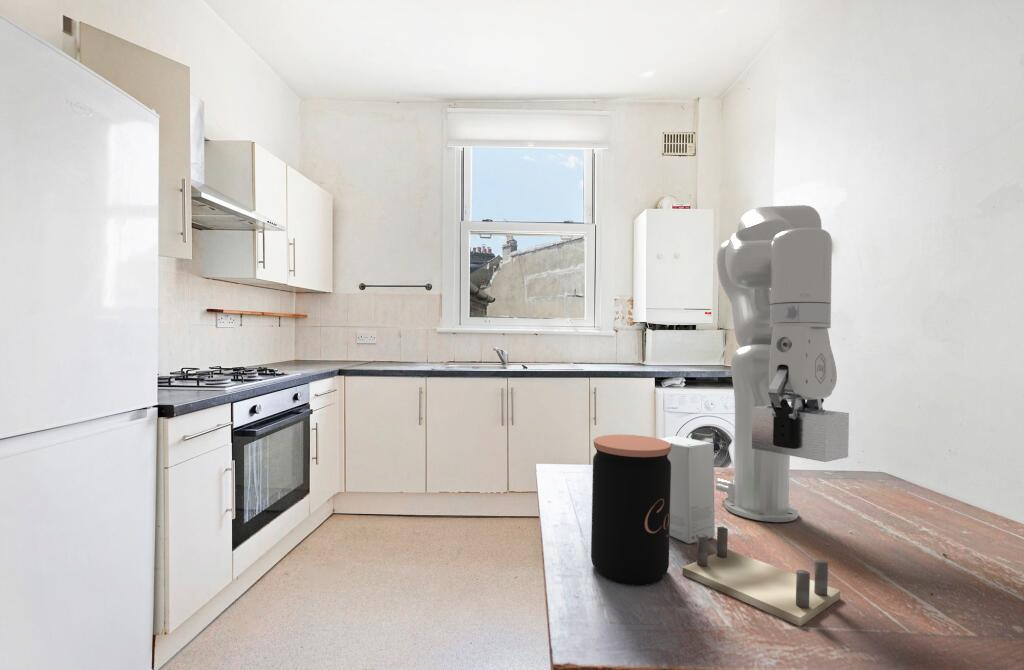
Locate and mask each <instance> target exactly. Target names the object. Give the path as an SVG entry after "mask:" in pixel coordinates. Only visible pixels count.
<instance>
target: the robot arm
mask: <svg viewBox="0 0 1024 670" xmlns="http://www.w3.org/2000/svg"><path fill="white" fill-rule="evenodd" d="M737 225H738V226H737V231H735V232H734V233H732V235H731V236H730V238H729V240H726V241H725V242H723V243H722V244H721V245H720V246H719V248H718V252H717V257H716V266H717V273H718V278H719V281H720V284H721V287H722V288H723V291H724V293H725V294H726V297H728V300H729V301H730V305H731V313H732V320H733V321H732V322H733V328H734V329H733V330H734V335H735V336H734V337H735V339H736V342H737V344H738V345H739V347H740V348H738V349H737V350H736V351H735V352H734V353H732V356H731V360H730V361H731V362H730V370H731V371H730V372H731V378H732V387H733V397H734V445H733V448H734V449H733V451H734V452H733V481H729V480H728V479H723V478H717V481H716V486H715V489H716V491H719V492H724V493H726V494H727V497H726V498H725V499H724V503H723V505H724V508H725V509H726V510H727V511H728V512H730V513H732V514H734V515H737V516H739V517H742V518H746V519H750V520H754V521H758V522H759V521H760V522H766V523H767V522H768V523H786V522H787V523H788V522H792V521H795V520H797V519H798V517H799V510H798V509H797V507H795V506H794V505H792V504H790V501H789V499H790V467H791V466H790V463H791V462H790V461H791V459H790V458H791V457H790V455H785V454H779V453H774V452H769V451H763V450H758V449H753V448H752V412H753V407H757V406H770V405H772V407H773V410H772V416H773V444H774V446H778V447H784V448H790V449H798V448H799V419H796V416H797V412H798V407H804V408H813V409H822V410H824V409H823V403H824V401H825V399H827V398H829V397H830V396H831V395H832V394H833V391H834V390H835V388H836V384H837V381H838V380H837V377H838V376H837V375H838V373H837V366H836V361H835V358H834V354H833V350H832V347H831V341H830V336H829V335H830V334H829V329H831V328H832V326H831V325H832V324H831V323H832V322H831V321H832V270H833V269H832V265H833V263H832V260H833V259H832V258H833V257H832V256H833V255H832V253H833V250H832V249H833V243H832V242H833V240H832V236H831V234H830V233H829V231H827V230H825V229H822V219H821V216H820V214H819V212H818V211H817V210H816V208H814V207H812V206H810V205H805V204H804V205H803V204H801V205H775V206H774V205H772V206H760V207H757V208H753V209H751V210H749V211H747V212H746V213H745V214H743V216H742V217H741V218H740V220H739V223H738V224H737ZM789 402H790V404H789Z"/></svg>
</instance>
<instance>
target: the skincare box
mask: <svg viewBox="0 0 1024 670" xmlns="http://www.w3.org/2000/svg"><path fill="white" fill-rule="evenodd" d="M658 439H661V440H664V441H666V442H669V443H670V444H671V451H670V453H669V454H668V456H667V458H668V459H669V461H670V462H671V492H670V537H672V538H675V539H677V540H679V541H681V542H684V543H686V544H694V543H697V535H699V534H704V535H707V536H708V540H709V539H710V540H711V539H712V538H714V537H715V535H716V533H715V530H716V529H715V528H716V527H715V524H716V523H715V522H716V521H715V459H714V458H715V456H714V455H715V453H714V450H715V449H714V448H715V447H714V446H715V444H714V443H713V442H708V441H704V440H703V441H702V440H700V439H699V440H698V439H694V438H690V437H685V436H679V435H673V436H666V437H660V438H658Z"/></svg>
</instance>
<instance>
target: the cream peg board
mask: <svg viewBox="0 0 1024 670" xmlns="http://www.w3.org/2000/svg"><path fill="white" fill-rule="evenodd" d="M716 530H717V531H716V533H717V534H716V552H715V553H713V554H710V555H709V539H708V536H707V535H704V534H699V535H697V542H696V543H697V545H696V546H697V548H696V549H697V550H696V561H694V562H691V563H690V564H687V565H684V566H683V567H682V569H681V570H682V575H683V576H685V577H687V578H689V579H692V580H694V581H696V582H699V583H701V584H704V586H708V587H711V588H712V589H714V590H716V591H719V592H722V593H724V594H725V595H728V596H730V597H733V598H734V599H737V600H740V601H742V602H744V603H746V604H749V605H750V606H753V607H755V608H757V609H760V610H762V611H764V612H767V613H769V614H771V615H773V616H775V617H778V618H781V619H782V620H785V621H787V622H788V623H791V624H794V625H796V626H799V627H801V626H803V625H804V624H806V623H807V622H809V621H811V620H812V619H813V618H815V617H816V616H817V615H819V614H820V613H821V612H823V611H824V610H826V609H827V608H829V607H830V606H832V605H833V604H834V603H836V602H837V601H839V600H840V599H841V590H840V589H837V588H834V587H832V586H829V585H828V580H829V579H828V575H829V562H828V561H826V560H823V559H820V558H819V559H818V558H817V559H815V560H814V580H813V579H811V573H810V572H809V571H807V570H806V569H805V570H804V569H797V570H796V571H795V572H796V573H793V572H791V571H788V570H786V569H783V568H780V567H778V566H774V565H772V564H769V563H766V562H764V561H761V560H758V559H755V558H752V557H750V556H747V555H744V554H742V553H740V552H737V551H733V550H730V549H729V548H728V539H729V538H728V533H729V532H728V531H729V530H728V528H727V527H724V526H717V529H716Z"/></svg>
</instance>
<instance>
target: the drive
mask: <svg viewBox="0 0 1024 670" xmlns="http://www.w3.org/2000/svg"><path fill="white" fill-rule="evenodd" d="M772 410H773V407H772V405H770V406H757V407H753V412H752V448H753V449H758V450H763V451H769V452H774V453H779V454H785V455H790V456H791V457H797V458H802V459H805V460H812V461H817V462H824V463H827V462H833V461H836V460H842V459H847V458H849V434H850V433H849V431H850V429H849V427H850V426H849V425H850V422H849V421H850V413H849V412H843V411H837V410H835V411H832V410H826V409H823V410H822V409H813V408H804V407H798V412H797V416H796V419H799V448H798V449H790V448H784V447H778V446H774V444H773V416H772Z"/></svg>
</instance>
